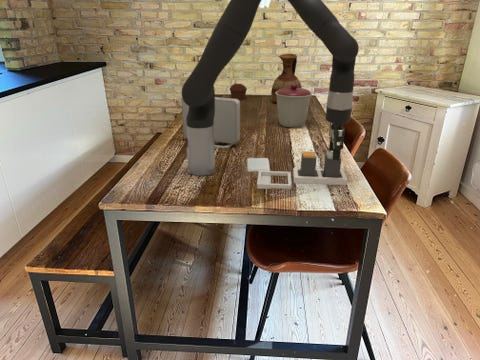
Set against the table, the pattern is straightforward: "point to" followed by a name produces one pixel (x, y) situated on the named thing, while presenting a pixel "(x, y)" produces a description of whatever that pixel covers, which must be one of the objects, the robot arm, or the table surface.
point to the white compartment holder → (319, 178)
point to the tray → (265, 180)
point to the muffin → (238, 91)
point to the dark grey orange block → (308, 164)
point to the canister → (293, 106)
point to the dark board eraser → (331, 166)
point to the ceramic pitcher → (286, 75)
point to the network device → (221, 120)
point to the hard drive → (258, 164)
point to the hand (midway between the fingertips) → (334, 155)
